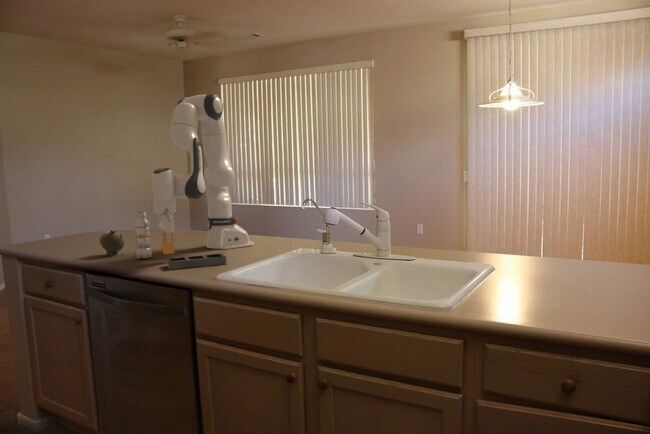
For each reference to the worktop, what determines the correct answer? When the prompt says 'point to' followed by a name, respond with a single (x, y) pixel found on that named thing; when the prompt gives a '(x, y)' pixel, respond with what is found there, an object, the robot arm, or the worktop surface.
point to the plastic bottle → (143, 236)
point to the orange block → (167, 244)
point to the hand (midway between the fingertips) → (167, 241)
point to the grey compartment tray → (195, 261)
